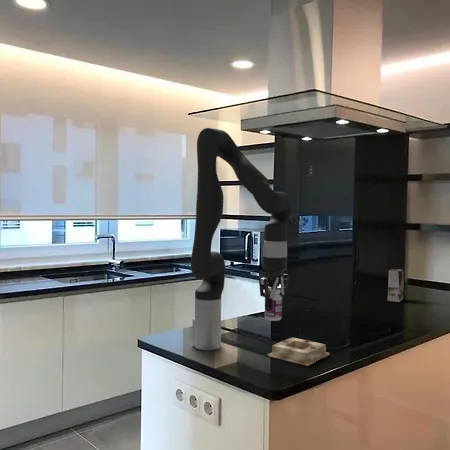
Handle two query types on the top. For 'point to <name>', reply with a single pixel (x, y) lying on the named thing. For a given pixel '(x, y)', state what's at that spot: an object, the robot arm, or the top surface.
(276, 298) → the pill bottle
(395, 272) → the coffee box
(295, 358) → the holder
